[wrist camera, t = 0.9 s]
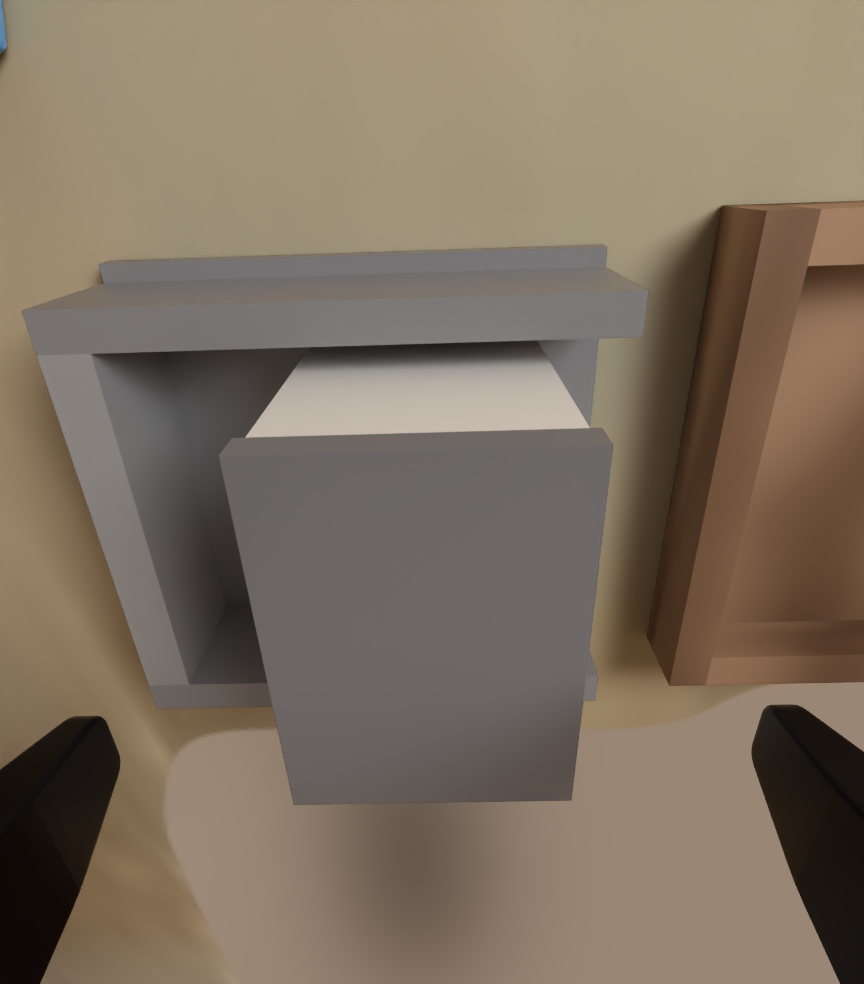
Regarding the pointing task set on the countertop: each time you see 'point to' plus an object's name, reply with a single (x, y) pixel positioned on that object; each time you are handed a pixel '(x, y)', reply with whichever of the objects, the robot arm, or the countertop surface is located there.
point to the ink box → (2, 30)
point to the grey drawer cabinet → (265, 405)
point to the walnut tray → (771, 460)
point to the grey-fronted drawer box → (423, 570)
